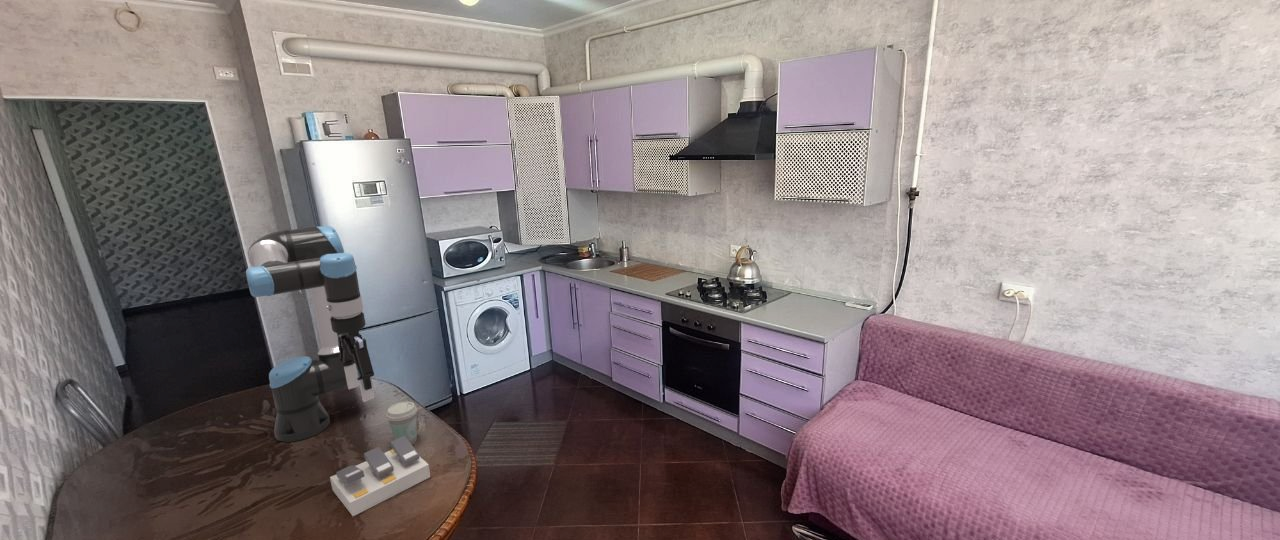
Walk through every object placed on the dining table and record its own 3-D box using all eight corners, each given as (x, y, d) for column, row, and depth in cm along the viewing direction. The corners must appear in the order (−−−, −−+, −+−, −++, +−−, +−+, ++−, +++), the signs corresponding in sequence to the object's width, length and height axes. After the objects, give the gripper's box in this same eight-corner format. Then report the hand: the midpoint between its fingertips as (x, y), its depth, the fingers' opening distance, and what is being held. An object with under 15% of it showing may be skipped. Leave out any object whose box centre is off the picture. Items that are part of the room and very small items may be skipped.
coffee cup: (410, 451, 152) (404, 416, 149) (385, 449, 154) (379, 413, 151) (427, 435, 160) (422, 401, 157) (403, 433, 162) (397, 399, 159)
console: (332, 490, 136) (328, 472, 135) (406, 455, 150) (404, 438, 149) (352, 516, 126) (349, 497, 125) (430, 476, 141) (427, 459, 139)
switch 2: (364, 457, 138) (363, 452, 137) (379, 450, 141) (379, 446, 140) (378, 478, 133) (377, 473, 132) (393, 471, 136) (393, 466, 135)
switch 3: (390, 446, 143) (390, 441, 142) (404, 439, 146) (404, 435, 145) (404, 465, 138) (404, 461, 137) (419, 458, 141) (419, 454, 140)
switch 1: (337, 477, 134) (335, 471, 133) (353, 470, 136) (352, 464, 136) (347, 484, 127) (345, 477, 127) (364, 476, 130) (362, 470, 130)
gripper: (316, 309, 134) (331, 385, 140) (346, 328, 119) (362, 413, 125) (346, 301, 139) (360, 376, 145) (379, 319, 125) (393, 401, 130)
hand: (361, 393), depth 135 cm, fingers open, 10 cm apart
